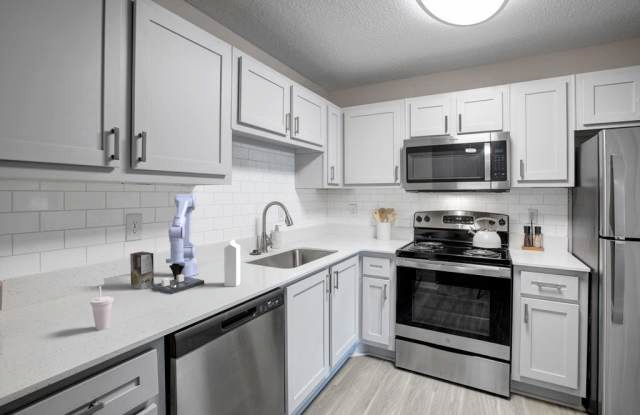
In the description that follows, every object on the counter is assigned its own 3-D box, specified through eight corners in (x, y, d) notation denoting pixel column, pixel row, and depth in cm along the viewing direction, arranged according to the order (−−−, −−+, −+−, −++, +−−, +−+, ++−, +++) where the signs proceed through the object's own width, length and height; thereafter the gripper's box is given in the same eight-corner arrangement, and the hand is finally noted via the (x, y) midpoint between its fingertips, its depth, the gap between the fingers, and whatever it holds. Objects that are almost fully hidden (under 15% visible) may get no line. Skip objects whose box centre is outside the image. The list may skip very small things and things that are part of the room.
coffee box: (154, 286, 154) (154, 252, 154) (141, 289, 149) (140, 255, 148) (143, 283, 159) (143, 251, 158) (130, 286, 153) (129, 253, 153)
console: (185, 280, 165) (185, 274, 165) (204, 284, 158) (204, 277, 158) (152, 289, 150) (152, 282, 150) (171, 294, 143) (171, 287, 143)
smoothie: (98, 323, 110) (97, 283, 110) (118, 323, 111) (117, 283, 110) (86, 332, 104) (85, 289, 103) (107, 331, 104) (106, 289, 104)
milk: (224, 286, 156) (223, 241, 155) (229, 282, 162) (228, 239, 161) (236, 286, 155) (236, 241, 154) (240, 283, 161) (240, 239, 160)
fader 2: (181, 280, 157) (181, 273, 157) (184, 280, 156) (183, 274, 156) (176, 281, 154) (176, 275, 154) (178, 282, 153) (178, 275, 153)
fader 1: (167, 284, 150) (167, 277, 149) (169, 285, 149) (169, 278, 149) (161, 286, 147) (161, 279, 147) (164, 286, 146) (164, 279, 146)
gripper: (160, 251, 156) (160, 278, 156) (179, 254, 148) (179, 283, 149) (173, 249, 162) (173, 275, 162) (192, 251, 155) (192, 279, 155)
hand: (177, 279), depth 156 cm, fingers closed
